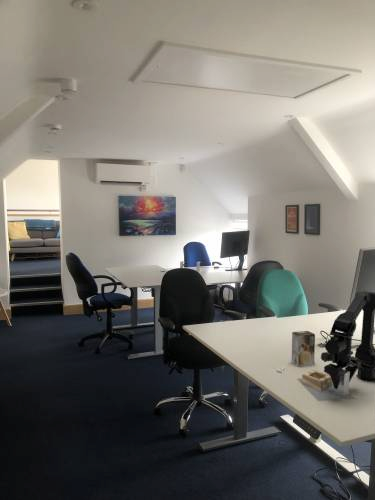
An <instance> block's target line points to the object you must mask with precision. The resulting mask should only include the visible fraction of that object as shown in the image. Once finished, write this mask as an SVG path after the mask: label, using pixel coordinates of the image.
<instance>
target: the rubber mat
mask: <svg viewBox="0 0 375 500" xmlns="http://www.w3.org/2000/svg"><path fill="white" fill-rule="evenodd" d="M296 380H297V381H298V382H299V383H300V384H301V385H302V386H303V387H304V388H305V389H306V390H307V391H308V392H309V393H310V395H312V396H313V398H315V400H317V402H323V401H337V400H338V401H340V400H341V401H342V400H355V399H356V397H355V396H354V395H352V393H350V392H349V395H348V396H346V397H344V398H343V397H340V396H337V395H335V394H334V390H335V388H334V385H333V382H332V385H331V386H329V387H327V388H325V389H323V390H321V391H320V390H317V389H315V388H312V387H309V386H307V385H304V384H302V378H296Z"/></svg>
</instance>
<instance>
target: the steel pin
mask: <svg viewBox="0 0 375 500" xmlns="http://www.w3.org/2000/svg"><path fill="white" fill-rule="evenodd" d="M342 375H343V376H342V379H341V381H340V384H339V386H338V389H335V390H334V394H335V395H337V396H340V397H343V398H344V397H346V396H348V395H349V393H350V382H349V376H350V371H347V370H345V368H343V373H342Z"/></svg>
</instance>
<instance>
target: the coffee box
mask: <svg viewBox="0 0 375 500" xmlns="http://www.w3.org/2000/svg"><path fill="white" fill-rule="evenodd" d="M291 334H292V335H291V364H292V365H294V366H295V367H297V368H305V367H312V366H315V355H316V354H315V353H316V352H315V347H316V344H315V343H316V334H315V333H313V332H311V331H309V330H302V331H292V332H291Z"/></svg>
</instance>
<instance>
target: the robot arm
mask: <svg viewBox="0 0 375 500" xmlns="http://www.w3.org/2000/svg"><path fill="white" fill-rule="evenodd" d="M362 311H363V312H362ZM361 312H362V328H361V339H360V344H359V345H358V346H357V347H356V348H355V352H354V351H353V350H352V344H353V343H352V342H353V341H352V339H353V337H354V333H355V332H356V330H357V329H356V328H357V322H356V321H357V319H358V317H359V315H360V314H361ZM374 330H375V292H374V291H373V292H371V291H366V290H363V291H360V290H358V291H356V292H355V295H354V297H353V299H352V300H351V302H350V304H349V306H348V307H347V309H346V310H345V312H342V313H340V314H339V315H338V316H337V317H336V318H335V319H334V320H333V324H332V327H331V329H330V333H329V335H331V336H330V339H329V340H327V341H325V344H324V348H325V350H326V351H324V352H321V354H320V359H321V360H322V361H323V362H324V363H326V362H331V363H329V364H326V365H325V366H324V368H323V373H325V374H328V375H330V376H331V379H332V382H333V385H334V388H335V389H338V386H339V384H340V381H341V379H342V376H343V375H342V373H343V369H344V370H347V371H350V376H349V383H351V381H352V379H353V378H354V375H355V374H356V372H357V374H356V377H357V378H359V379H360V380H361V381H363V382H375V346H374V334H375V333H374V332H375V331H374ZM354 353H355V354H354ZM352 355H354V356H352Z"/></svg>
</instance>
